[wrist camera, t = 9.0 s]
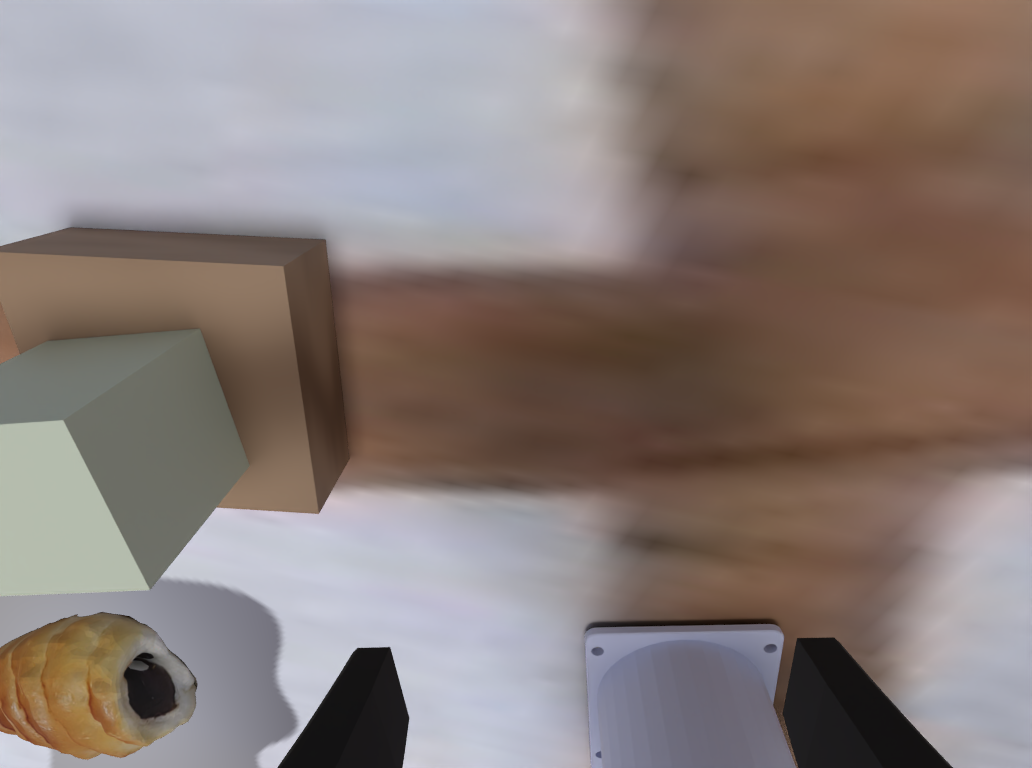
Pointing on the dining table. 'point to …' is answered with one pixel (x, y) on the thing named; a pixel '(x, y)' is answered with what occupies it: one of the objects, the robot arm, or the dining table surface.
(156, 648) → the pastry
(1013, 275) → the dining table surface
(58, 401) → the green block
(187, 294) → the base block
